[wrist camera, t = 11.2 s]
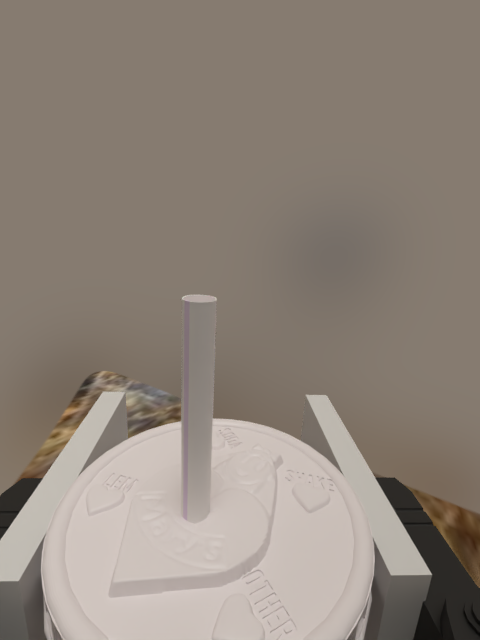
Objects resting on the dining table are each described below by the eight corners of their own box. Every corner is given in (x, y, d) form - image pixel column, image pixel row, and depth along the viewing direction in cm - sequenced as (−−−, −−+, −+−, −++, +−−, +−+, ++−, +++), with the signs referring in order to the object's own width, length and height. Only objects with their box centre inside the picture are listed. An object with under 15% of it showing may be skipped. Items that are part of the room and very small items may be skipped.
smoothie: (34, 803, 9) (-70, 286, 5) (202, 606, 14) (211, 262, 10) (211, 1216, 5) (291, 494, 2) (355, 753, 10) (461, 299, 7)
